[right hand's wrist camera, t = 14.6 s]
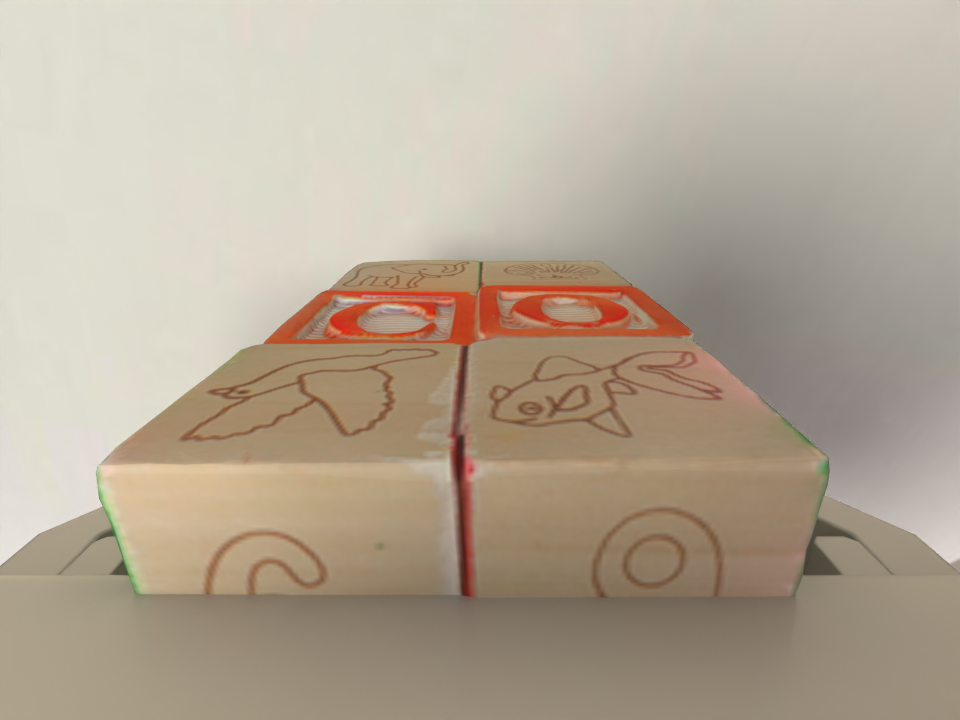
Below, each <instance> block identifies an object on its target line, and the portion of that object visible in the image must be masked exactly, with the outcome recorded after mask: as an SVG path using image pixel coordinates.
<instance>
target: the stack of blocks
mask: <svg viewBox="0 0 960 720" xmlns="http://www.w3.org/2000/svg"><path fill="white" fill-rule="evenodd" d="M693 340H694V333H693V332H692V331H691V330H690V329H689V328H688V327H686V326H685V325H684V324H683V323H682V322H680V321H679V320H678V319H677V318H675V317H674V316H673V315H672V314H670V313H669V312H668V311H667V310H666V309H664V308H663V307H662V306H661V305H659V304H658V303H657V302H655V301H654V300H653V299H651V298H650V297H649V296H647V295H646V294H645V293H644V292H642V291H641V290H639V289H637V288H635V287H633V286H632V284H631V283H629V282H628V281H626V280H625V279H624V278H622V277H621V276H619V275H618V274H617V273H616V272H614V271H613V270H611V269H610V268H609V267H608V266H606V265H605V264H604V263H602V262H600V261H488V262H478V261H454V260H415V261H383V262H368V263H362V264H359V265H357V266H355V267H354V268H353V269H352V270H350V271H349V272H348V273H347V274H346V275H344V276H343V277H342V278H341V279H340V280H339V281H338V282H337V283H336V284H335V285H334V286H333V287H332V288H331V289H330V290H327V291H324V292H321V293H320V294H318V295H317V296H316V297H315V298H314V299H313V300H312V301H310V302H309V303H308V304H307V305H305V306H304V307H303V308H302V309H301V310H300V311H299V312H297V313H296V314H295V315H294V316H292V317H291V318H290V319H289V320H287V321H286V322H285V323H284V324H283V325H282V326H281V327H279V328H278V329H277V330H276V331H275V332H274V333H273V334H272V335H271V336H270V337H269V338H268V339H267V340H266V341H265V342H264V344H261V345H255V346H251V347H248V348H245V349H243V350H240V351H239V352H238V353H237V354H236V355H235V356H234V357H232V358H231V359H230V360H229V361H227V362H226V363H225V364H223V365H222V366H221V367H220V368H218V369H217V370H216V371H215V372H213V373H212V374H211V375H210V376H208V377H207V378H206V379H204V380H203V381H202V382H200V383H199V384H198V385H196V386H195V387H194V388H192V389H191V390H190V391H188V392H187V393H186V394H184V395H183V396H182V397H181V398H179V399H178V400H177V401H176V402H174V403H173V404H172V405H171V406H169V407H168V408H167V409H165V410H164V411H163V412H162V413H160V414H159V415H158V416H156V417H155V418H154V419H152V420H151V421H150V422H149V423H147V424H146V425H145V426H143V427H142V428H141V429H139V430H138V431H137V432H136V433H134V434H133V435H132V436H130V437H129V438H128V439H126V440H125V441H124V442H123V443H121V444H120V445H119V446H117V447H116V448H115V449H114V450H113V451H112V452H111V453H110V454H109V456H108V457H107V458H106V459H105V460H104V461H103V462H102V463H101V464H100V465H99V466H98V468H97V472H96V476H97V485H98V493H99V499H100V501H101V504H102V506H103V508H104V510H105V512H106V515H107V517H108V519H109V521H110V524H111V526H112V529H113V532H114V535H115V538H116V541H117V544H118V547H119V550H120V552H121V555H122V558H123V561H124V564H125V567H126V570H127V573H128V575H129V578H130V581H131V584H132V586H133V589H134V592H135V594H201V595H463V596H469V597H475V598H585V597H795V595H796V592H797V590H798V587H799V584H800V582H801V579H802V576H803V569H804V562H805V555H806V549H807V546H808V544H809V542H810V539H811V537H812V534H813V530H814V527H815V524H816V520H817V517H818V514H819V510H820V507H821V504H822V501H823V498H824V494H825V491H826V488H827V485H828V478H829V458H828V457H827V456H826V455H825V454H824V453H823V452H822V451H820V450H819V449H818V448H817V447H816V446H815V445H813V444H812V443H811V442H810V441H809V440H808V439H807V438H805V437H804V436H803V435H802V434H801V433H800V432H799V431H798V430H796V429H795V428H794V427H793V426H792V425H791V424H790V423H789V422H788V421H786V420H785V419H784V418H783V417H782V416H781V415H780V414H779V413H778V412H777V411H775V410H774V409H773V408H772V407H771V406H770V405H768V404H767V403H766V402H765V401H764V400H763V399H762V398H760V397H759V396H758V395H757V394H756V393H755V392H753V391H752V390H751V389H750V388H749V387H747V386H746V385H745V384H744V383H743V382H741V381H740V380H739V379H738V378H737V377H735V376H734V375H733V374H732V373H731V372H730V371H729V370H728V369H726V368H725V367H724V366H723V365H722V364H721V363H720V362H719V361H718V360H717V359H716V358H714V357H713V356H712V355H711V354H709V353H708V352H707V351H705V350H703V349H702V348H701V347H700V346H699V345H698V344H697V343H696V342H694V341H693Z"/></svg>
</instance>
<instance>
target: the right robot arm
mask: <svg viewBox="0 0 960 720" xmlns="http://www.w3.org/2000/svg"><path fill="white" fill-rule="evenodd" d="M0 720H960V573H959V572H958V571H957V570H956V569H955V568H954V567H952V566H951V565H950V564H949V563H948V562H947V561H945V560H944V559H943V558H942V557H941V556H939V555H938V554H937V553H936V552H935V551H934V550H932V549H931V548H930V547H929V546H928V545H927V544H925V543H924V542H923V541H922V540H921V539H919V538H918V537H917V536H916V535H914V534H912V533H910V532H907V531H905V530H903V529H900V528H898V527H896V526H893V525H891V524H889V523H887V522H884V521H882V520H880V519H877V518H875V517H873V516H870V515H868V514H866V513H864V512H861V511H859V510H857V509H854V508H852V507H850V506H847V505H845V504H843V503H841V502H838V501H836V500H834V499H831V498H829V497H827V496H825V495H824V498H823V501H822V504H821V507H820V510H819V514H818V517H817V520H816V524H815V527H814V530H813V534H812V537H811V539H810V542H809V544H808V546H807V549H806V555H805V562H804V569H803V576H802V579H801V582H800V584H799V587H798V590H797V592H796V595H795V597H585V598H475V597H469V596H463V595H201V594H135V592H134V589H133V586H132V584H131V581H130V578H129V575H128V573H127V570H126V567H125V564H124V561H123V558H122V555H121V552H120V550H119V547H118V544H117V541H116V538H115V535H114V532H113V529H112V526H111V524H110V521H109V519H108V517H107V515H106V512H105V510H104V508H103V507H101V508H99V509H96V510H94V511H92V512H89V513H87V514H85V515H82V516H80V517H78V518H75V519H73V520H71V521H68V522H66V523H64V524H61V525H59V526H57V527H54V528H52V529H50V530H47V531H45V532H43V533H40V534H38V535H37V536H36V537H35V538H33V539H32V540H31V541H30V542H29V543H27V544H26V545H25V546H24V547H23V548H21V549H20V550H19V551H18V552H17V553H15V554H14V555H13V556H12V557H11V558H9V559H8V560H7V561H6V562H5V563H3V564H2V565H1V566H0Z"/></svg>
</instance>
